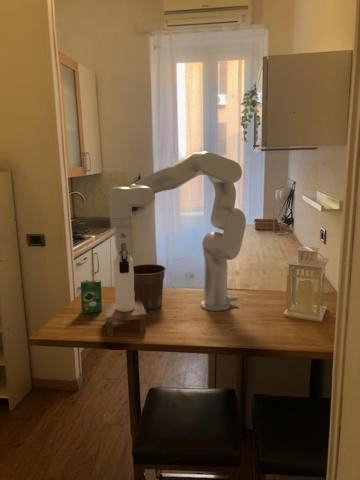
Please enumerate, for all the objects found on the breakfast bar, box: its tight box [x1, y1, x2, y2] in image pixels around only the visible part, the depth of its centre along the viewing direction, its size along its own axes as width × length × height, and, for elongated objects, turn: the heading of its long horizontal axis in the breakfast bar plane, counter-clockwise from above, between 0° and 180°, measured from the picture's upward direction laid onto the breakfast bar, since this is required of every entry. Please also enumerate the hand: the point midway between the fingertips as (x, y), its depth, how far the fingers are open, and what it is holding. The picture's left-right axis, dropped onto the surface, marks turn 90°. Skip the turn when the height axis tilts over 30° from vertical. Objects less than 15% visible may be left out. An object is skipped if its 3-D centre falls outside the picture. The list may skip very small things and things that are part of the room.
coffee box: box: [80, 279, 103, 315], centre depth 155 cm, size 8×3×13 cm, turn 110°
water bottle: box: [113, 246, 135, 312], centre depth 138 cm, size 7×7×25 cm
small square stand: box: [104, 301, 147, 337], centre depth 141 cm, size 14×14×7 cm
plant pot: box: [133, 263, 166, 311], centre depth 161 cm, size 16×16×16 cm
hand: (123, 269), depth 138 cm, fingers open, 9 cm apart
